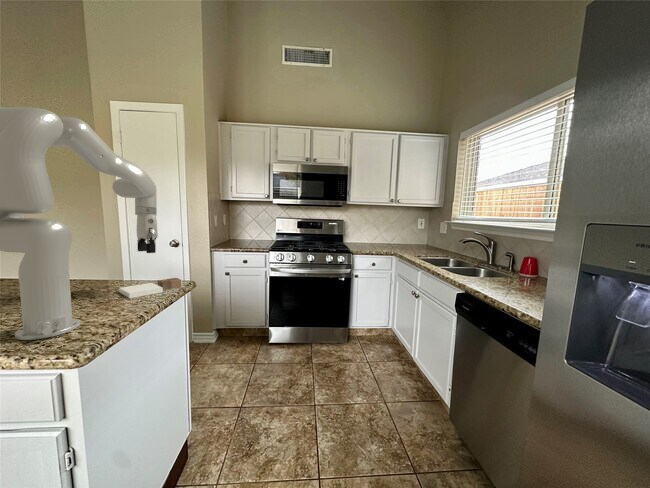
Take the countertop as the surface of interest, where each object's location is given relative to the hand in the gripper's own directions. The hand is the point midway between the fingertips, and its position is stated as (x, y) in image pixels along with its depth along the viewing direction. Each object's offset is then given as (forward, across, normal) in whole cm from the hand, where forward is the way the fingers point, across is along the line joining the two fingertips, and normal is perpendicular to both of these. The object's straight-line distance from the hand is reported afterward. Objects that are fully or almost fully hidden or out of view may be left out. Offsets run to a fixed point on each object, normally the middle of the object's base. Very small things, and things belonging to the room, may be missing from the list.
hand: (146, 252), depth 111 cm
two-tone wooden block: (+15, +1, -6) cm, 16 cm away
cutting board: (+17, +1, +2) cm, 17 cm away
